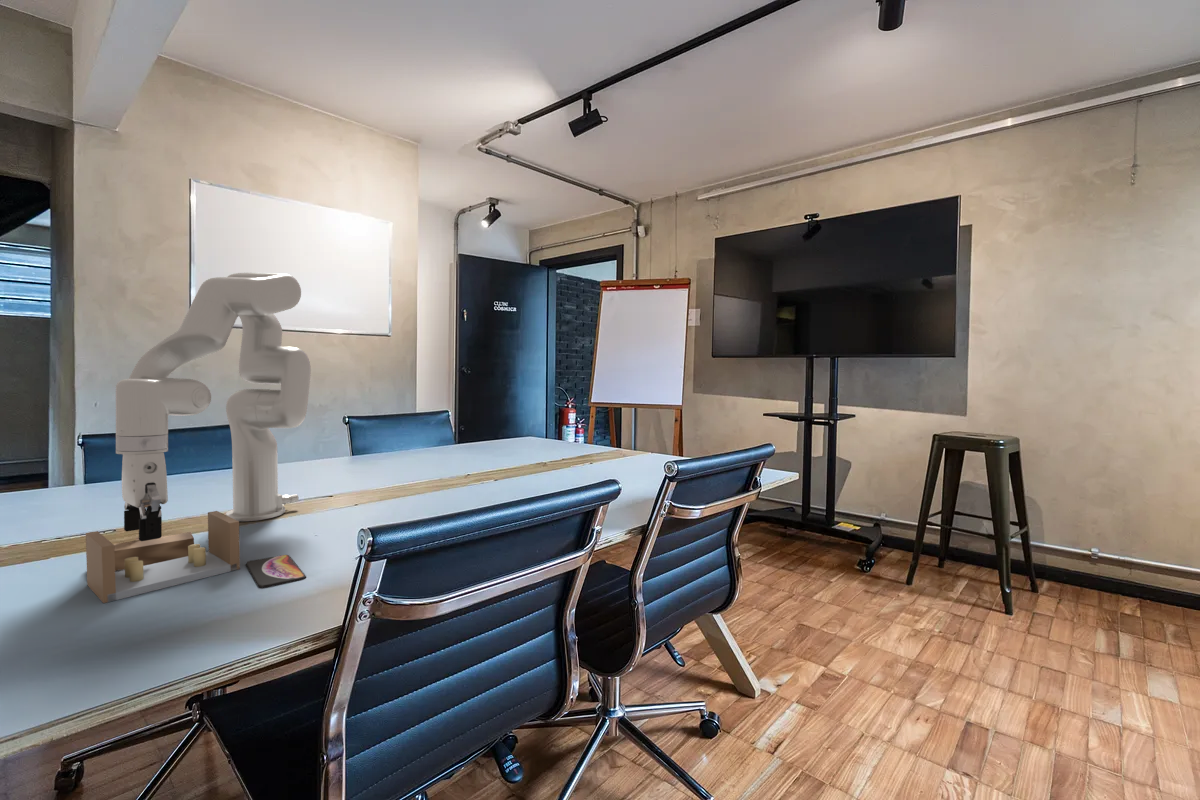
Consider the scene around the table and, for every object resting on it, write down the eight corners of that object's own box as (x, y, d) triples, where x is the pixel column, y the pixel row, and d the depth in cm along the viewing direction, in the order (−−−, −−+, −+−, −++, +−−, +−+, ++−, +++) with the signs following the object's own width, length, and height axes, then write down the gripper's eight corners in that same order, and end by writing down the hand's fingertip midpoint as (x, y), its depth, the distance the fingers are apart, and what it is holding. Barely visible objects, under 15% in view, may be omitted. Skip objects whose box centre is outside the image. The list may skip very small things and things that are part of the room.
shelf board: (190, 551, 110) (190, 532, 110) (194, 558, 106) (193, 538, 106) (96, 567, 100) (96, 546, 100) (97, 575, 97) (96, 553, 96)
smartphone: (288, 553, 108) (307, 576, 97) (288, 557, 108) (307, 581, 97) (244, 561, 103) (259, 586, 92) (244, 565, 103) (259, 591, 92)
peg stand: (217, 555, 107) (216, 510, 106) (239, 568, 100) (239, 521, 100) (87, 585, 92) (85, 533, 91) (103, 603, 85) (101, 547, 85)
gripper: (182, 446, 100) (182, 539, 100) (153, 439, 110) (153, 523, 110) (129, 450, 94) (129, 548, 94) (104, 442, 104) (104, 530, 104)
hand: (142, 534), depth 102 cm, fingers open, 9 cm apart
